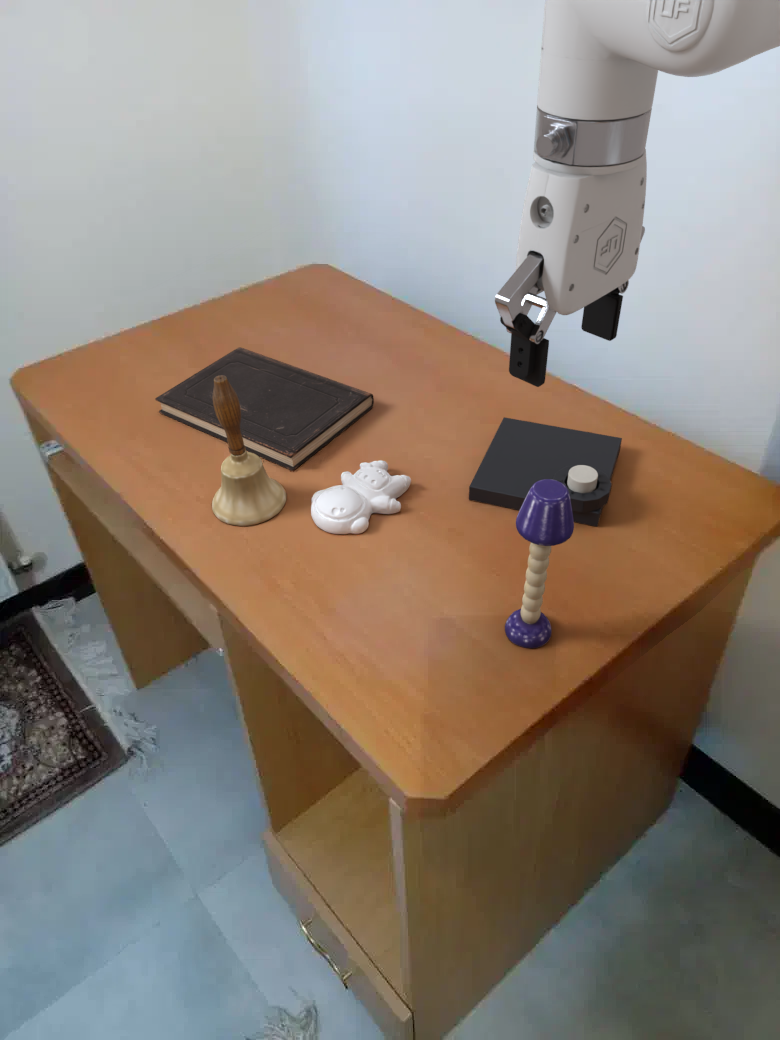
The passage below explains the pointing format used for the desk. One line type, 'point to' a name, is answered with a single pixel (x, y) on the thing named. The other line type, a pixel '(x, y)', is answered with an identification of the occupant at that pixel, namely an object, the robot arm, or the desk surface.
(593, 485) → the button
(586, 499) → the scale
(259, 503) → the hand bell
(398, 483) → the white flat figure
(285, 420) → the hardcover book
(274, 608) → the desk surface
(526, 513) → the toy lamp
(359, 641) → the desk surface
